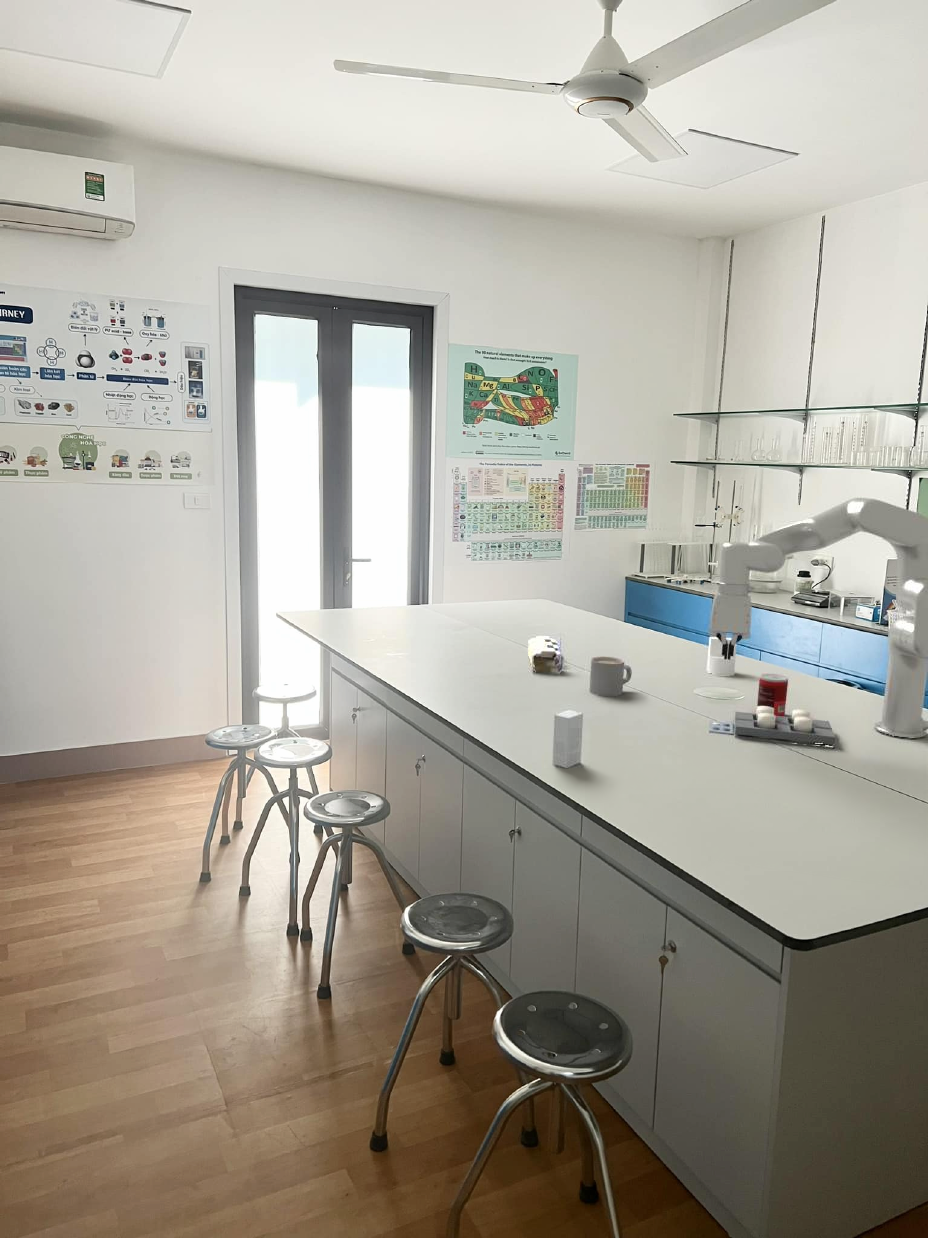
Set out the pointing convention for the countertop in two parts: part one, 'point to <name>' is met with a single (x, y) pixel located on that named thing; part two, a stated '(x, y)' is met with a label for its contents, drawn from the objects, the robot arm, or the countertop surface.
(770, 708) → the button
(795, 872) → the countertop surface
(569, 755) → the skincare box
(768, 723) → the button
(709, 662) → the cylinder with rectangular tab
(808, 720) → the button
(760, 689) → the canned food
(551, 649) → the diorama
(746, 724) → the button board
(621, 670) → the coffee mug
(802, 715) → the button
